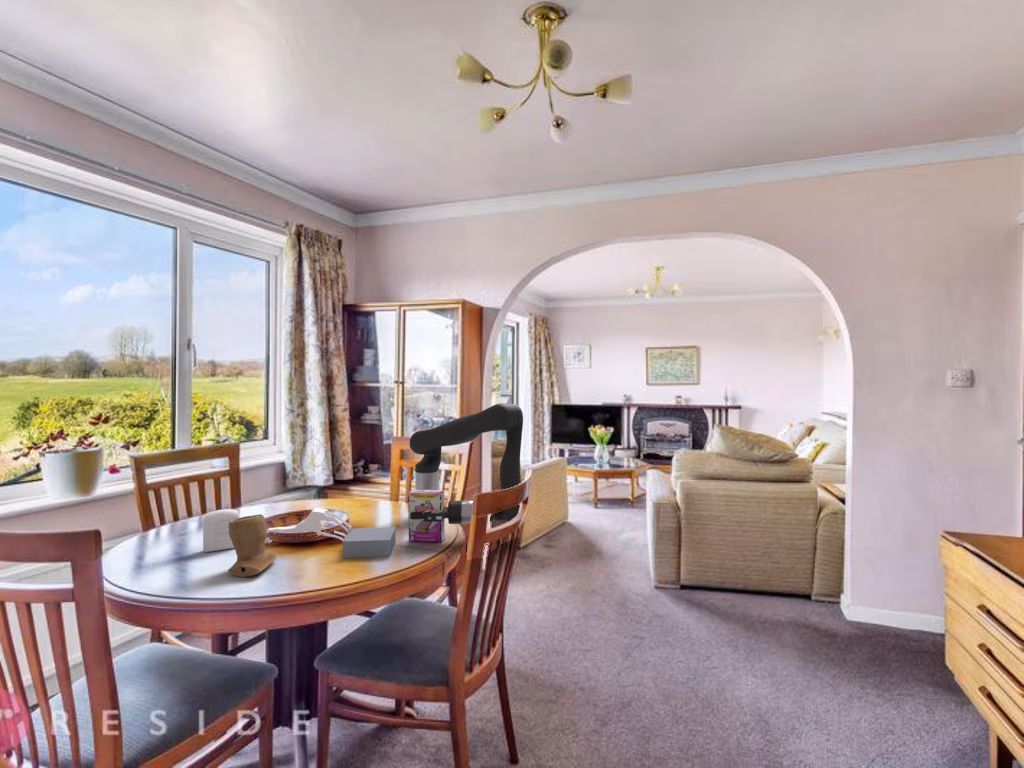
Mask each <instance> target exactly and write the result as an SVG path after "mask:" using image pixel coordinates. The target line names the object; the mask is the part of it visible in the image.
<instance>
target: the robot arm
mask: <svg viewBox="0 0 1024 768" xmlns="http://www.w3.org/2000/svg"><path fill="white" fill-rule="evenodd" d="M523 427H524V413H523V410H522V408H521V407H520V406H519V405H517V404H515V403H497V404H496V403H495V404H494V405H492V406H489V407H488V408H486V409H483V410H482V411H478V412H477V413H472V414H469V415H465V416H462V417H458V418H456V419H452V420H451V421H448V422H445V423H442V424H441V425H440V424H439V425H438V426H435V427H433V428H430V429H429V428H428V429H424V430H423V429H422V430H418V431H415V432H414V433H413V434H411V437H410V438H409V443H408V445H409V448H410V450H411V451H412V452H413V453H415V454H417V455H421V456H422V455H423V457H422V458H421V460H420V461H418V462H417V463H415V467H414V489H415V490H440V466H441V462H442V447H451V446H457V445H462V444H466V443H470V442H471V441H474V440H475V439H477V438H478V437H479V436H480V435H481V434H484V433H488V432H493V431H496V432H498V431H500V432H501V431H503V432H504V431H505V435H506V441H505V442H506V444H505V449H504V451H503V454H502V457H501V461H500V463H499V481H500V482H499V485H500V490H502V489H506V488H510V487H513V486H515V485H518V484H519V483H521V484H522V477H521V475H522V474H521V448H522V437H523V436H522V435H523V429H524V428H523ZM473 501H474V500H470V499H469V500H467V499H466V500H449V501H448V503H447V504H448V506H444V510H443V511H442V512H439V513H431V510H430V511H429V512H425V511H423V512H411V513H410V519H422V520H424V521H425V522H426V521H430V522H442V519H444V520H445V519H448V524H449V525H462V524H463V525H466V524H467V525H469V524H471V523H470V519H471V511H472V503H473ZM519 507H520V506H519V505H517V506H515V507H512V508H509V509H506V510H503V511H501V512H498V513H495V514H493V515H491V517H490V522H489V523H491V522H494V521H499V522H500V521H507V522H508V521H510V520H511V519H512V518H514V517H515V516H516V515H517V513H518V510H519ZM428 515H430V517H429V518H428Z"/></svg>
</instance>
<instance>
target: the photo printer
mask: <svg viewBox="0 0 1024 768" xmlns="http://www.w3.org/2000/svg"><path fill="white" fill-rule="evenodd" d="M236 518H241V517H240V514H239V511H238V510H235V509H229V508H228V509H227V508H224V509H218V510H217V509H216V510H213V511H209V512H208V513H205V514H204V517H203V522H202V525H203V526H202V531H203V532H202V534H203V535H202V551H203V552H204V553H210V552H217V551H222V550H223V551H224V550H229V549H230V550H231V549H235V548H234V546H233V543H232V541H231V538H230V535H229V522H230V521H231V520H233V519H236Z"/></svg>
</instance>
